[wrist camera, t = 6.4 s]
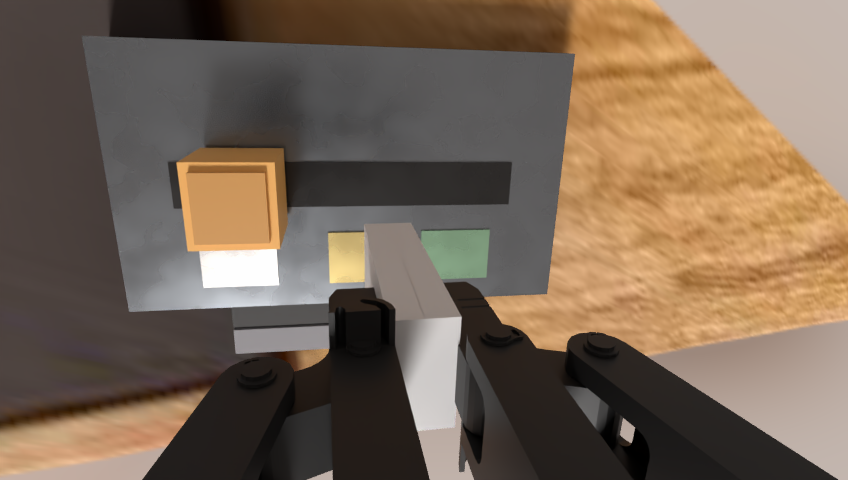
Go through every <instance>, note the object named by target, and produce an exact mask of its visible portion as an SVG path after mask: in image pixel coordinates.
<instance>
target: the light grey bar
mask: <svg viewBox="0 0 848 480" xmlns="http://www.w3.org/2000/svg"><path fill="white" fill-rule="evenodd" d="M234 339H235V349H236V354H240V353H258V352H276V351H293V350H311V349H329V323H314V324H294V325H273V326H252V327H235V328H234Z"/></svg>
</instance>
